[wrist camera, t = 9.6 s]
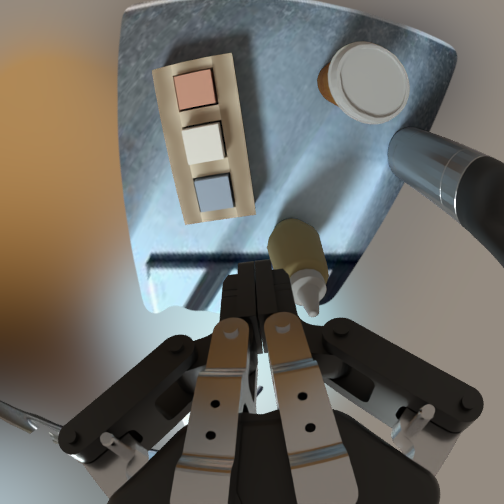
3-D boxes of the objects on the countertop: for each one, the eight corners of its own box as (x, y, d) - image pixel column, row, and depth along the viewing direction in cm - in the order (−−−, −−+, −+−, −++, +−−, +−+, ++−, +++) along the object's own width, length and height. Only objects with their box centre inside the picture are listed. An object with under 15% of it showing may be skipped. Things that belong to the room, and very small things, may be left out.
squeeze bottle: (303, 260, 48) (327, 341, 32) (258, 248, 46) (266, 331, 31) (323, 219, 44) (362, 292, 28) (275, 204, 42) (295, 276, 27)
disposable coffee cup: (364, 53, 30) (407, 44, 20) (372, 114, 35) (415, 125, 24) (300, 53, 30) (324, 38, 20) (310, 117, 35) (337, 127, 25)
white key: (220, 121, 33) (217, 123, 30) (225, 153, 35) (223, 159, 32) (186, 127, 33) (181, 131, 30) (192, 158, 36) (188, 165, 33)
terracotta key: (212, 71, 30) (209, 69, 28) (217, 102, 33) (215, 102, 30) (179, 78, 31) (173, 77, 28) (185, 108, 33) (179, 110, 30)
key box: (232, 57, 30) (231, 52, 27) (254, 203, 42) (255, 214, 39) (160, 72, 31) (151, 70, 28) (190, 213, 42) (185, 224, 39)
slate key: (229, 169, 38) (227, 176, 35) (234, 198, 40) (233, 207, 37) (198, 174, 38) (194, 181, 35) (204, 202, 40) (201, 212, 37)
